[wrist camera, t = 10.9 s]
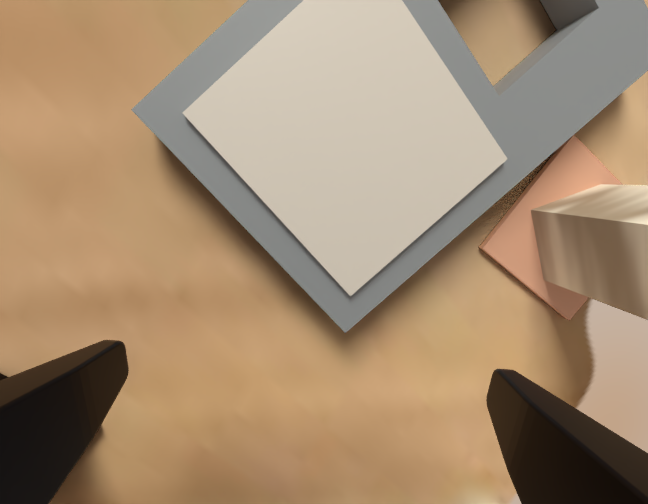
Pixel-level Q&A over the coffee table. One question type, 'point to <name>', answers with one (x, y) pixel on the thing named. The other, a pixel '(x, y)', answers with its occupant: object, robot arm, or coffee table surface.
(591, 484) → the robot arm
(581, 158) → the pad
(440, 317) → the coffee table surface
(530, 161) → the puzzle board
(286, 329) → the coffee table surface
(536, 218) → the block
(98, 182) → the coffee table surface
